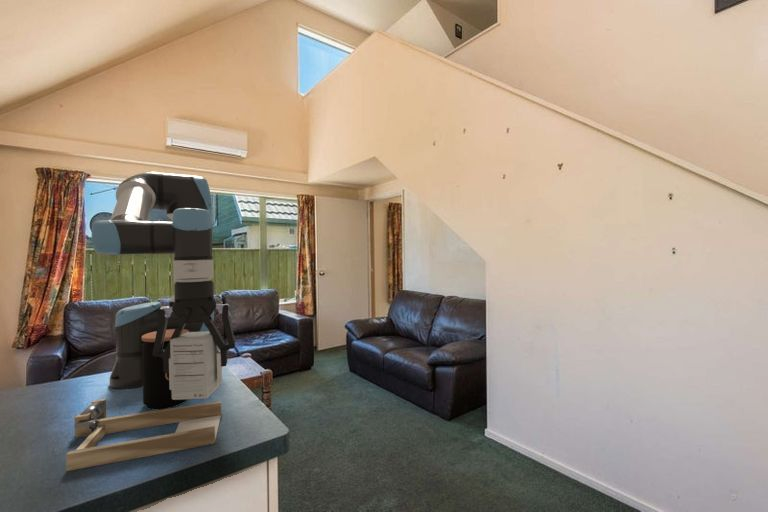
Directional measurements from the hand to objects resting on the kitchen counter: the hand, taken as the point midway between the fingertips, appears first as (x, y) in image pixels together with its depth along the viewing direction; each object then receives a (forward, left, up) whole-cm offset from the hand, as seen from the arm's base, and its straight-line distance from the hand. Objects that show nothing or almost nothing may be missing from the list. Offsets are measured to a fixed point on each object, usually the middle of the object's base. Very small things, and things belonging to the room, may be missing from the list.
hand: (196, 384), depth 76 cm
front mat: (0, 0, -10) cm, 10 cm away
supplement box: (0, 0, -2) cm, 2 cm away
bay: (0, -8, -10) cm, 13 cm away
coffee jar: (-20, -10, -10) cm, 25 cm away
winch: (-10, -22, -10) cm, 26 cm away
